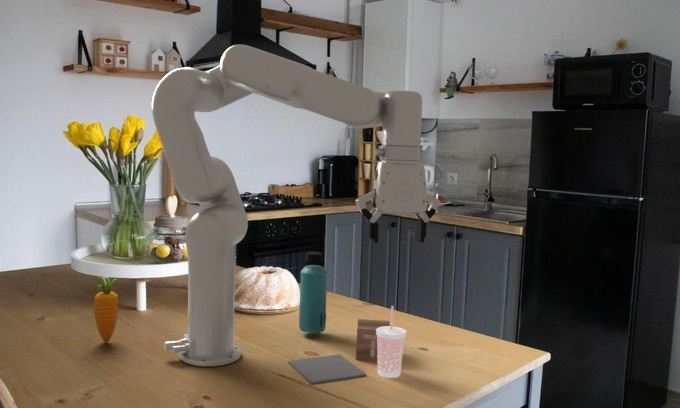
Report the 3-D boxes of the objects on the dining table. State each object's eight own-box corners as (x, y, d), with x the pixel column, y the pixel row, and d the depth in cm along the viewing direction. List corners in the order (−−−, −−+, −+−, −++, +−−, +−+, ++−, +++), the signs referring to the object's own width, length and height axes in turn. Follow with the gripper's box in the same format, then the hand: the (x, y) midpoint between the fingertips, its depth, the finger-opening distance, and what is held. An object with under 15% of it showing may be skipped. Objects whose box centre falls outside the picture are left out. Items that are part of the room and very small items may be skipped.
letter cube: (388, 362, 136) (390, 330, 135) (355, 360, 136) (357, 328, 136) (387, 351, 143) (389, 320, 142) (356, 349, 143) (358, 319, 143)
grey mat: (311, 384, 122) (311, 382, 122) (288, 362, 133) (288, 361, 133) (366, 375, 128) (366, 373, 128) (339, 356, 138) (339, 354, 138)
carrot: (123, 341, 142) (123, 275, 140) (106, 348, 137) (106, 279, 136) (106, 337, 144) (106, 272, 142) (89, 344, 139) (88, 276, 138)
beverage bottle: (322, 340, 148) (325, 255, 146) (294, 337, 149) (297, 253, 147) (328, 332, 154) (331, 251, 152) (301, 329, 156) (304, 248, 153)
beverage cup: (387, 365, 134) (390, 300, 132) (410, 374, 130) (414, 307, 128) (367, 372, 130) (370, 305, 128) (390, 381, 125) (394, 312, 124)
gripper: (364, 155, 119) (360, 245, 121) (449, 157, 123) (444, 244, 125) (352, 153, 126) (349, 239, 128) (433, 155, 130) (429, 238, 132)
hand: (396, 241), depth 126 cm, fingers open, 9 cm apart
